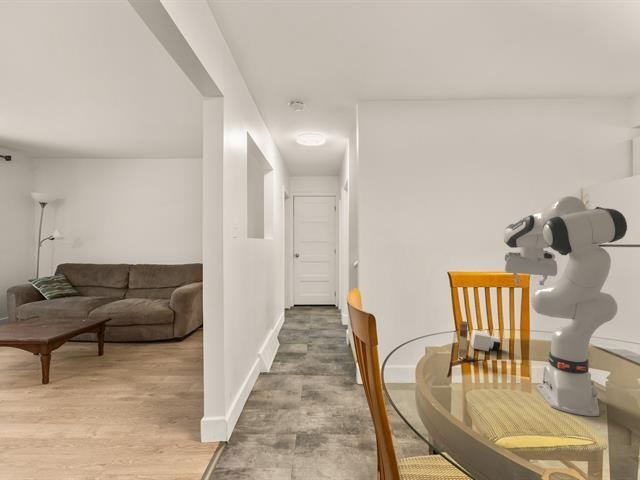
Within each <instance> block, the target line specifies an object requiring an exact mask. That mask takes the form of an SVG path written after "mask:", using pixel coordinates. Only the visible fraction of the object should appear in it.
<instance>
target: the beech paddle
mask: <svg viewBox="0 0 640 480" xmlns="http://www.w3.org/2000/svg"><path fill="white" fill-rule="evenodd" d="M459 323H460V324H459V325H460V326H459V344H458V345H459V347H458V348H459V349H458V358H459V357H463V358H466V359H467V348H468V347H467V346H468V345H467V343H468V327H469V326H468V325H469V324H468V321H465V320H464V321H462V320H460V322H459Z"/></svg>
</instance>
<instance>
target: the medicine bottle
mask: <svg viewBox="0 0 640 480" xmlns="http://www.w3.org/2000/svg"><path fill="white" fill-rule="evenodd" d="M470 344H471V347H472V348H473V349H475V350H480V351H484V352H489V351H490V350H493V351H494V350H495V351H498V350H500V348H501V339H500V337H498V336H493V335H490V333H489V332H487V331H481V330H475V329H473V330H472V334H471V341H470Z"/></svg>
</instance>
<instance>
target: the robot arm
mask: <svg viewBox="0 0 640 480" xmlns="http://www.w3.org/2000/svg"><path fill="white" fill-rule="evenodd" d="M627 230H628V222H627V220H626V217H625V216H624V215H623V213H622V212H620V211H618V210H617V209H614V208H605V207H601V206H596V207H595V208H593V209H589V208H587V207H586V205H585V203H584V201H583V200H581V198H578V197H575V196H569V195H568V196H567V195H566V196H564V197H561V198H558V199H557V200H555V201H553V202H551V203H550V204H549V205H548V206H547V207H546V208H544V209H542V210H540V211H538V212H535V213H532V214H530V215H528V216H525V217H524V218H521V220H519V221H517V222H516V223H511V224H509V225H508V226H507V227H506V228H505V229H504V233H503V242H504V243H505V244H506V245H507V246H508V247H509V248H512V249H513V248H517V249H518V248H519V252H507V253H506V254H505V255H504V260H505V264H504V272H506V273H507V274H508V273H509V274H512V275H513V277H514V279H515V280H514V281H515V284H520V281H521V280H520V278H518V277H517V276H518V274H519V275H520V274H521V275H535V276H536V275H537V276H542V277H543V278H542V280H539V286H542V287H537V288H536V289H535V290H534V292H533V293H532V295H531V297H530V298H531V299H530V303H531V306H532V308H533V310H534V312H535V313H537V314H539V315H542V316H545V317H549V318H557V319H567V320H571V321H570V322H569V323H568V324H567V325H565V326H560V327H559V328H557V329H555V330H553V332H552V334H551V343H550V344H551V345H550V351H549V354H548V364H546V365H544V366H543V370H542V376H541V377H542V378H541V383H537V384H536V386H535V387H536V389H537V391H538V392H539V393H540V394H541V396H542V397H543V398H544V399H545V402H547V403H548V405H549V406H550V407H551V408H554V409H555V410H559V411H562V412H566V413H570V414H575V415H581V416H587V417H598V416H600V408H599V402H598V389H597V388H593V387H592V386H594V385H595V381H594V380H592V374H591V373H590V372H589V367H590V365H589V359H588V353H589V347H590V340H591V338H592V336H593V334H594V333H595V332H596V330H597V329H598V328H599V327H600V326H602V325H605V323H608V322H610V321H612V320H613V319H614V318H615V317H616V315H617V312H618V304H617V301H616V299H615V298H614V297H613V296H612V295H611V294H610V293H606V292H603V291H602V290H603V286H604V284H605V283H606V281H607V278H608V276H609V273H610V269H611V263H612V262H611V261H612V259H611V255H610V253H609V252H608V251H607V250H606V249H604V248H603V247H601V246H600V245H602V244H606V243H608V244H609V243H614V242H616V241H619V240H621V239H623V238H624V237H625V236H626V233H627ZM546 248H547V249H548V248H551V249H552V250H553V251H556V252H557V253H558V254H560V256H569V257H568V258H569V259H568V263H567V264H566V267H565V269H564V272H563V274H562V276H561V277H560V279H558V280H557V281H555V282H554V283H551V284H548V285H546V286H545V282H546V280H548V277H549V276H550V277H556V276H558V264H557V261H556V255H555V253H552V252H549V251H547V250H544V249H546Z"/></svg>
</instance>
